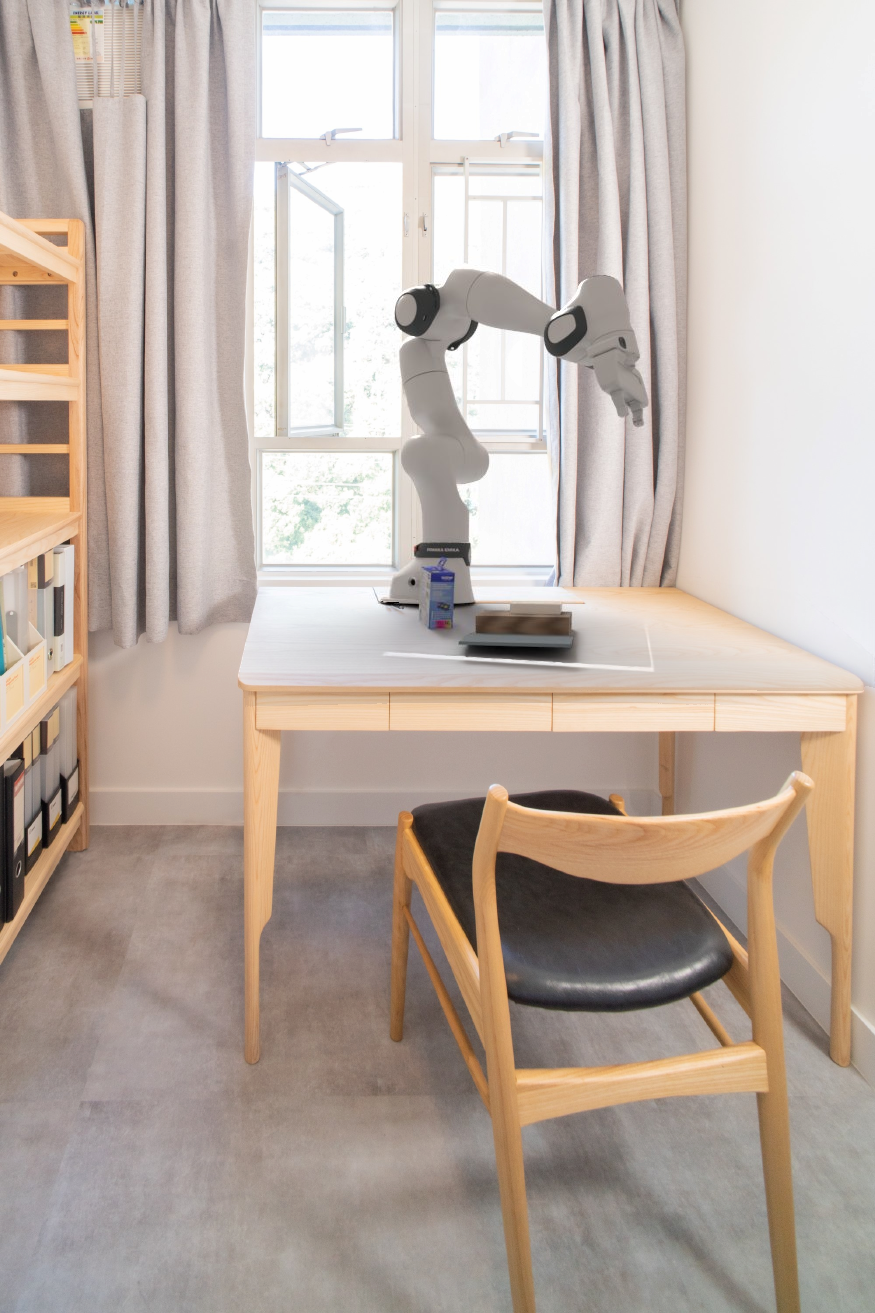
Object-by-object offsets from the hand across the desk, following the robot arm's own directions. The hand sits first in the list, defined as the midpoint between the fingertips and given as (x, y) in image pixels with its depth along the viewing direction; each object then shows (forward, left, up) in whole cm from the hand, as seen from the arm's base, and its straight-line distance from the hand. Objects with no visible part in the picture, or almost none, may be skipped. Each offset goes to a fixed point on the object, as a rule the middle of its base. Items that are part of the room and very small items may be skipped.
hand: (631, 421), depth 185 cm
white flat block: (-18, -2, -38) cm, 42 cm away
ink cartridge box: (-39, 0, -42) cm, 57 cm away
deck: (-20, -5, -42) cm, 47 cm away
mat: (-20, -19, -42) cm, 50 cm away
